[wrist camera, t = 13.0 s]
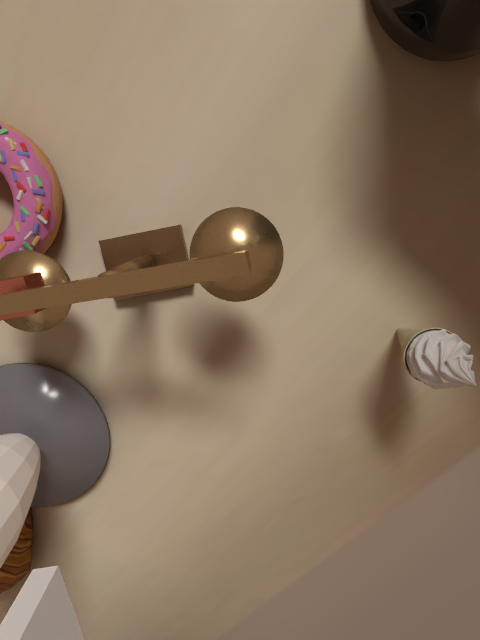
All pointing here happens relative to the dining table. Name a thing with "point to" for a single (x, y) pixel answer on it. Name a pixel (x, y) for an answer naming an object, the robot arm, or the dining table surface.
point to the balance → (147, 268)
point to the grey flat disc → (55, 428)
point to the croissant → (18, 557)
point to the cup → (16, 486)
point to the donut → (29, 194)
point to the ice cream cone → (436, 357)
